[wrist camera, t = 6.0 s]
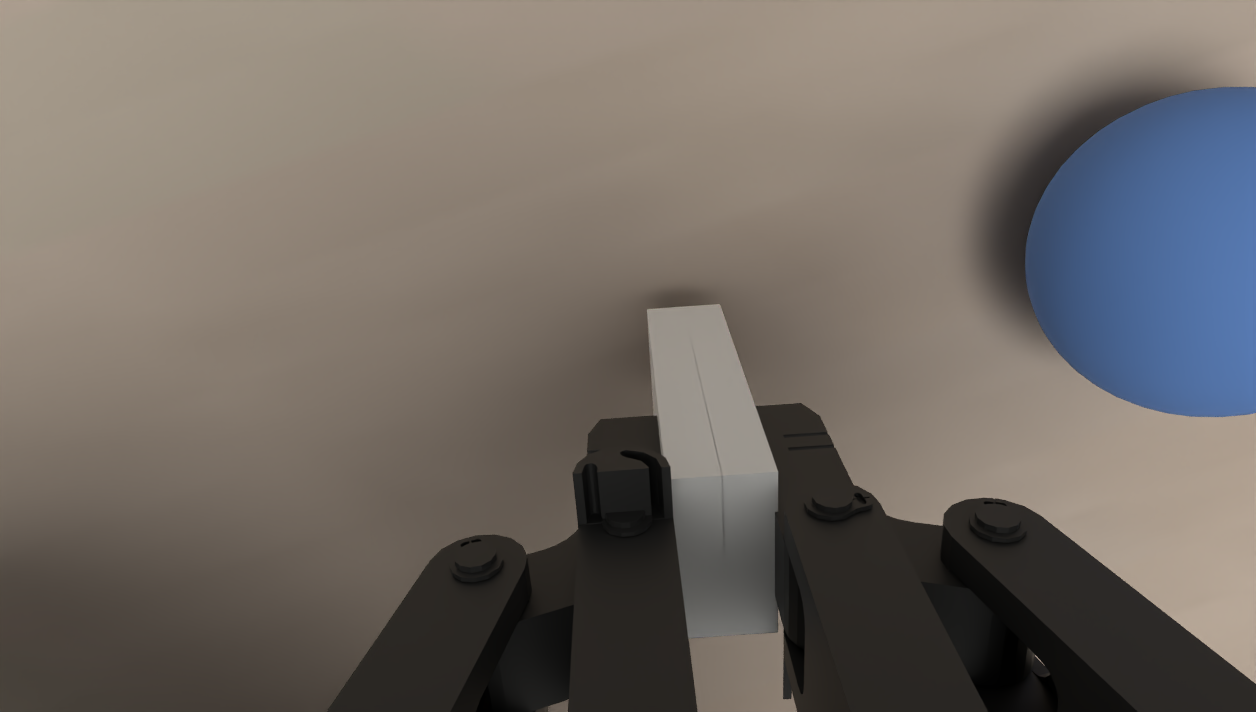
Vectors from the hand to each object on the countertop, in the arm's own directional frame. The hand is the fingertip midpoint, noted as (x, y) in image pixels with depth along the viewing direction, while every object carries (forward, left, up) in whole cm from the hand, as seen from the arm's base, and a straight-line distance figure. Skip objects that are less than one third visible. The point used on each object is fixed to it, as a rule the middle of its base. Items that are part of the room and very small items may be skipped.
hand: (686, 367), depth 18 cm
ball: (0, -10, +1) cm, 10 cm away
